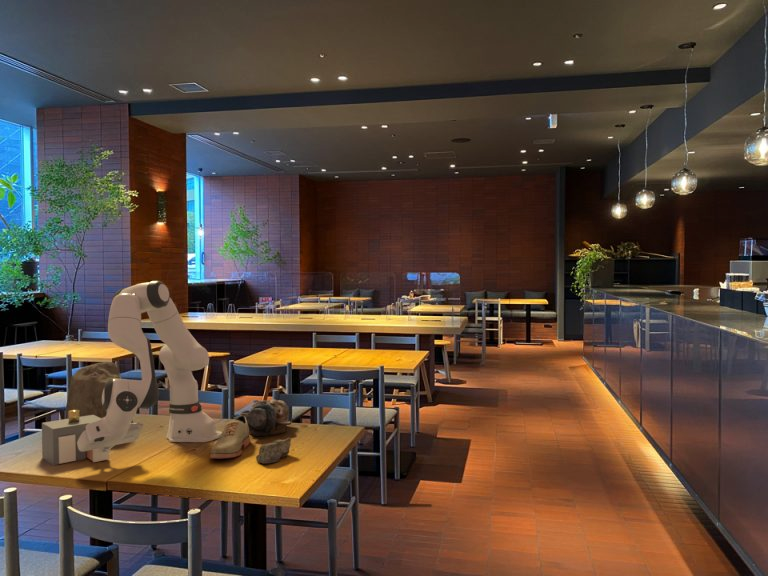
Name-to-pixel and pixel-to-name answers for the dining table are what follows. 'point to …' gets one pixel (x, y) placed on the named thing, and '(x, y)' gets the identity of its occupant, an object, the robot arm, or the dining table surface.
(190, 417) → the robot arm
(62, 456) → the thin beige tile
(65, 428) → the grey cabinet
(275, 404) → the sculpture
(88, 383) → the stone
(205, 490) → the dining table surface
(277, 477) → the dining table surface
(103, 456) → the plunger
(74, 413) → the brass dial
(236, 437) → the oxford shoe
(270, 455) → the rock
